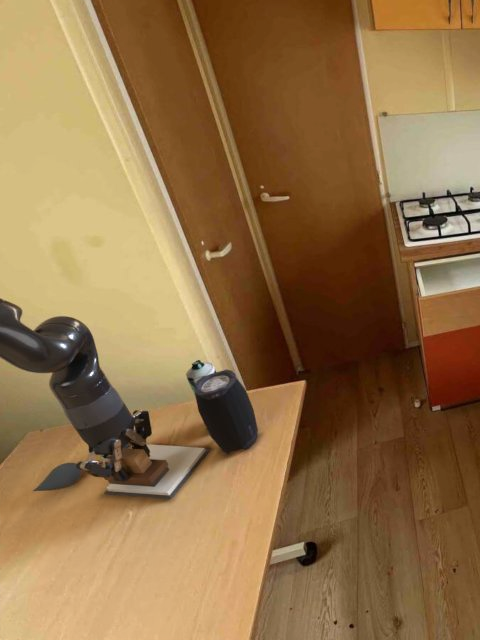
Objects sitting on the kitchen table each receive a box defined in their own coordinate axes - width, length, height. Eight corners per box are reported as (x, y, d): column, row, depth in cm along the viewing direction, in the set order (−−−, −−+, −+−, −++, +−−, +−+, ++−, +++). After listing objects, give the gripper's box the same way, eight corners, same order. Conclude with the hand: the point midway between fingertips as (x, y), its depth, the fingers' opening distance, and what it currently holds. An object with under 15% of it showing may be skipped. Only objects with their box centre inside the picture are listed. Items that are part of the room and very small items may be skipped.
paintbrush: (139, 426, 106) (130, 412, 103) (151, 433, 104) (143, 419, 102) (36, 497, 90) (23, 482, 87) (49, 506, 88) (37, 491, 86)
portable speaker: (211, 447, 101) (181, 386, 92) (250, 420, 108) (226, 361, 99) (230, 464, 97) (201, 402, 88) (269, 435, 104) (246, 375, 95)
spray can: (230, 429, 105) (203, 369, 96) (206, 432, 104) (176, 371, 95) (239, 412, 110) (214, 353, 101) (216, 415, 109) (189, 355, 100)
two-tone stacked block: (154, 488, 88) (140, 464, 84) (108, 484, 89) (91, 461, 85) (171, 468, 92) (157, 445, 88) (126, 465, 92) (111, 442, 89)
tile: (104, 494, 90) (101, 490, 90) (150, 446, 101) (148, 442, 100) (170, 499, 89) (167, 495, 89) (210, 450, 100) (208, 446, 99)
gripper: (113, 383, 87) (146, 438, 95) (40, 441, 75) (85, 500, 83) (147, 384, 87) (177, 440, 95) (79, 444, 74) (121, 503, 82)
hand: (134, 468), depth 89 cm, fingers closed on two-tone stacked block, 4 cm apart
